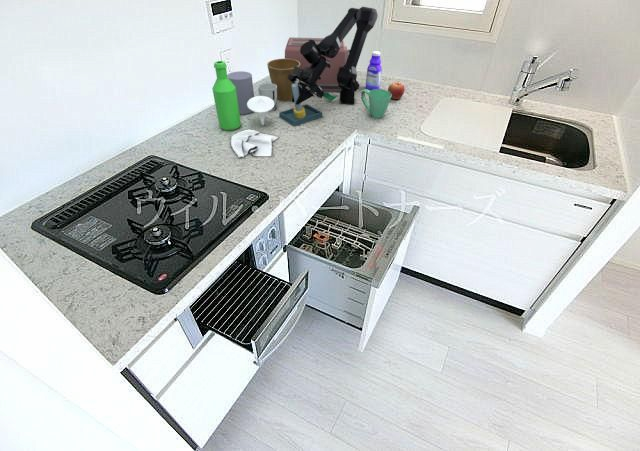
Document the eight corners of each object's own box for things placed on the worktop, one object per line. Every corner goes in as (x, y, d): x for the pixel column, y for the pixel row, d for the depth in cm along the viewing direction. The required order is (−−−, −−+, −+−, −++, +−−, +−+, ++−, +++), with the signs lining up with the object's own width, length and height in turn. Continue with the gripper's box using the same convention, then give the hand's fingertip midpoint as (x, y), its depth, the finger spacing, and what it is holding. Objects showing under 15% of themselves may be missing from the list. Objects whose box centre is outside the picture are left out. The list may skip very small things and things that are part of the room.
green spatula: (307, 92, 169) (307, 82, 166) (310, 91, 170) (310, 81, 167) (336, 105, 157) (337, 95, 154) (339, 104, 158) (340, 94, 155)
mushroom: (277, 129, 138) (275, 100, 130) (250, 131, 136) (246, 102, 128) (274, 119, 145) (272, 91, 138) (249, 120, 144) (245, 92, 136)
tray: (307, 108, 154) (306, 104, 153) (322, 116, 148) (322, 112, 147) (279, 116, 147) (279, 112, 146) (294, 126, 141) (294, 121, 139)
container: (259, 107, 155) (255, 72, 145) (249, 116, 147) (245, 80, 137) (238, 104, 157) (233, 70, 147) (228, 113, 149) (222, 78, 139)
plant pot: (272, 92, 168) (269, 57, 158) (301, 93, 168) (301, 58, 158) (267, 104, 157) (264, 68, 147) (299, 105, 157) (298, 69, 147)
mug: (392, 116, 150) (396, 93, 143) (378, 122, 145) (382, 99, 138) (367, 106, 158) (369, 84, 151) (353, 112, 152) (355, 89, 146)
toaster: (350, 92, 170) (353, 48, 157) (283, 90, 170) (280, 46, 157) (348, 79, 185) (351, 37, 171) (286, 77, 185) (284, 36, 171)
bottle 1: (222, 133, 135) (210, 67, 118) (217, 124, 141) (204, 60, 124) (244, 128, 138) (234, 64, 122) (237, 120, 144) (228, 57, 127)
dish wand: (301, 110, 148) (296, 80, 137) (307, 115, 145) (302, 84, 134) (292, 115, 147) (286, 85, 136) (298, 120, 144) (293, 89, 133)
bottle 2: (363, 88, 174) (367, 52, 163) (367, 85, 178) (371, 49, 166) (376, 91, 172) (381, 54, 160) (380, 88, 175) (385, 51, 164)
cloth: (247, 127, 139) (246, 122, 137) (291, 141, 131) (291, 135, 129) (212, 148, 126) (210, 142, 124) (258, 165, 118) (257, 159, 116)
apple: (401, 94, 169) (404, 78, 164) (404, 101, 163) (407, 84, 158) (385, 94, 169) (387, 78, 163) (388, 101, 163) (390, 84, 158)
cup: (275, 113, 150) (273, 90, 143) (257, 111, 151) (255, 88, 144) (280, 106, 156) (279, 84, 149) (263, 104, 157) (261, 82, 150)
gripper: (290, 52, 137) (269, 85, 139) (319, 63, 126) (295, 99, 128) (305, 69, 146) (286, 100, 148) (333, 81, 135) (312, 114, 137)
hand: (294, 103), depth 140 cm, fingers closed on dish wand, 2 cm apart
